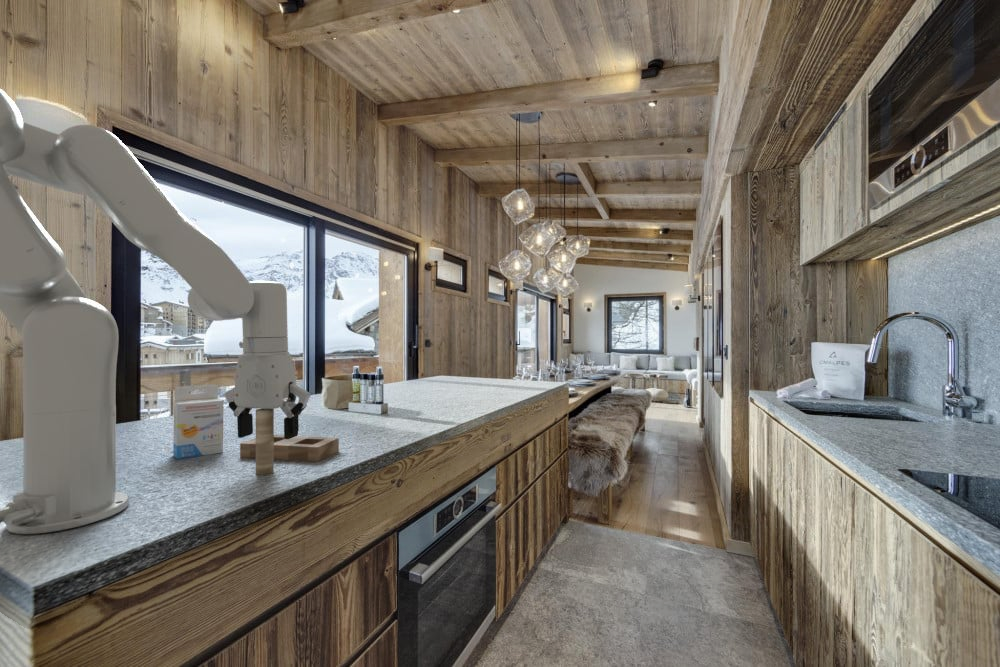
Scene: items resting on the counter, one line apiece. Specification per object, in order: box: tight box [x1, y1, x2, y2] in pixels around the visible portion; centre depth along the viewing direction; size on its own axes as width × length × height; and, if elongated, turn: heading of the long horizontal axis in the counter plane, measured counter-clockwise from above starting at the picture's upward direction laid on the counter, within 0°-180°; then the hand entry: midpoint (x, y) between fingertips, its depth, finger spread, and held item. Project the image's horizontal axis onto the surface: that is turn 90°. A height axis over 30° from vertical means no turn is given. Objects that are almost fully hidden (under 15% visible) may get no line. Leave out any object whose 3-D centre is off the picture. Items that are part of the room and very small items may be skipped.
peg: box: [255, 408, 275, 476], centre depth 82 cm, size 3×3×12 cm
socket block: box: [239, 434, 340, 463], centre depth 95 cm, size 8×18×3 cm, turn 81°
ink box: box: [172, 383, 224, 460], centre depth 95 cm, size 8×5×15 cm, turn 134°
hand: (268, 436), depth 83 cm, fingers open, 9 cm apart
